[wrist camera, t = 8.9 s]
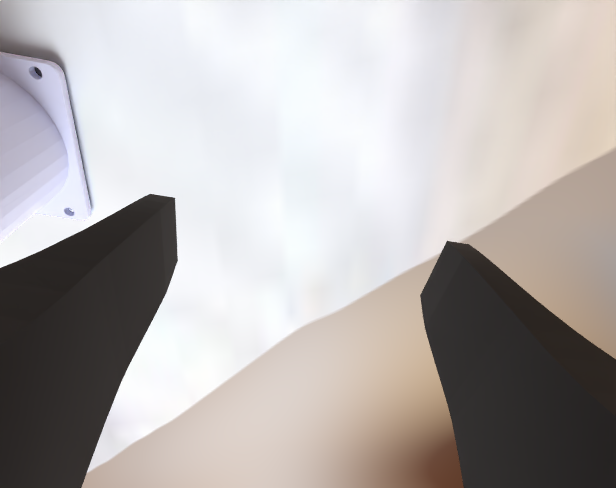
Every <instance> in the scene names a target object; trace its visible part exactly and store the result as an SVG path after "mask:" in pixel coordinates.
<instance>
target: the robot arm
mask: <svg viewBox="0 0 616 488" xmlns="http://www.w3.org/2000/svg"><path fill="white" fill-rule="evenodd" d="M35 67H37V68H38V69H39V70H40V71H41V73H42V77H40V76H39V75H38V74H37V73H36V72H35ZM69 208H70V209H72V210H73V211H74V212H72V211H70V210H69ZM34 214H40V215H46V216H53V217H60V218H66V219H73V220H80V221H85V220H87V219H88V218H89V217H90V216H91V215H92V210H91V205H90V200H89V195H88V190H87V185H86V180H85V175H84V170H83V165H82V160H81V155H80V150H79V145H78V140H77V135H76V130H75V125H74V120H73V115H72V110H71V105H70V100H69V95H68V90H67V85H66V80H65V75H64V73H63V70H62V69H61V68H60V66H58V65H57V64H56V63H54V62H52V61H48V60H43V59H37V58H32V57H26V56H21V55H15V54H10V53H5V52H0V243H2V242H3V241H4V240H5V239H6V238H7V237H9V236H10V235H11V234H12V233H13V232H14V231H15V230H17V229H18V228H19V227H20V226H21V225H22V224H24V223H25V222H26V221H27V220H28V219H29V218H30V217H32V216H33V215H34ZM177 261H178V259H177V236H176V213H175V198H173V197H166V196H160V195H154V194H149V195H147V196H145V197H143V198H141V199H139V200H137V201H135V202H134V203H132V204H130V205H128V206H126V207H125V208H123V209H121V210H119V211H117V212H116V213H114V214H112V215H110V216H108V217H107V218H105V219H103V220H101V221H99V222H97V223H96V224H94V225H92V226H90V227H88V228H86V229H84V230H83V231H81V232H79V233H76V234H74V235H72V236H70V237H68V238H66V239H64V240H62V241H60V242H58V243H56V244H54V245H52V246H50V247H48V248H46V249H44V250H42V251H40V252H37V253H35V254H33V255H31V256H28V257H26V258H24V259H21V260H19V261H17V262H14V263H12V264H9V265H7V266H4V267H2V268H0V488H81V487H82V484H83V482H84V479H85V476H86V473H87V470H88V467H89V464H90V462H91V459H92V456H93V454H94V451H95V448H96V446H97V443H98V440H99V437H100V435H101V432H102V429H103V427H104V424H105V421H106V419H107V416H108V414H109V411H110V409H111V406H112V404H113V401H114V398H115V396H116V393H117V391H118V388H119V386H120V383H121V381H122V379H123V377H124V375H125V373H126V370H127V368H128V366H129V364H130V362H131V360H132V358H133V356H134V355H135V353H136V351H137V349H138V347H139V345H140V343H141V341H142V339H143V337H144V335H145V333H146V331H147V329H148V328H149V326H150V324H151V322H152V320H153V318H154V316H155V314H156V312H157V310H158V308H159V306H160V304H161V302H162V300H163V298H164V296H165V294H166V292H167V289H168V286H169V284H170V281H171V278H172V275H173V272H174V269H175V266H176V263H177ZM420 296H421V304H422V312H423V318H424V324H425V329H426V333H427V337H428V340H429V344H430V347H431V351H432V354H433V357H434V361H435V364H436V367H437V371H438V374H439V377H440V381H441V384H442V387H443V391H444V394H445V397H446V401H447V404H448V408H449V411H450V416H451V419H452V423H453V429H454V434H455V440H456V445H457V450H458V455H459V460H460V467H461V473H462V479H463V486H464V488H616V359H614V358H613V357H611V356H610V355H609V354H607V353H605V352H604V351H603V350H601V349H600V348H598V347H597V346H595V345H594V344H592V343H591V342H590V341H588V340H587V339H586V338H584V337H583V336H581V335H580V334H579V333H577V332H576V331H575V330H573V329H572V328H571V327H569V326H568V325H567V324H566V323H564V322H563V321H562V320H561V319H559V318H558V317H557V316H555V315H554V314H553V313H552V312H550V311H549V310H548V309H547V308H545V307H544V306H543V305H541V303H539V302H538V301H537V300H536V299H534V298H533V297H532V296H531V295H530V294H528V293H527V292H526V291H525V290H524V289H523V288H521V287H520V286H519V285H518V284H517V283H516V282H514V281H513V280H512V279H511V278H510V277H508V276H507V275H506V274H505V273H504V272H503V271H501V270H500V269H499V268H498V267H497V266H496V265H495V264H493V263H492V262H491V261H490V260H489V259H487V258H486V257H485V256H484V255H482V254H481V253H480V252H479V251H477V250H476V249H474V248H473V247H472V246H470V245H469V244H462V243H457V242H450V241H447V242H446V244H445V246H444V248H443V250H442V253H441V255H440V257H439V259H438V261H437V263H436V265H435V267H434V269H433V271H432V273H431V275H430V277H429V279H428V281H427V283H426V285H425V287H424V289H423V291H422V293H421V295H420Z"/></svg>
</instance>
